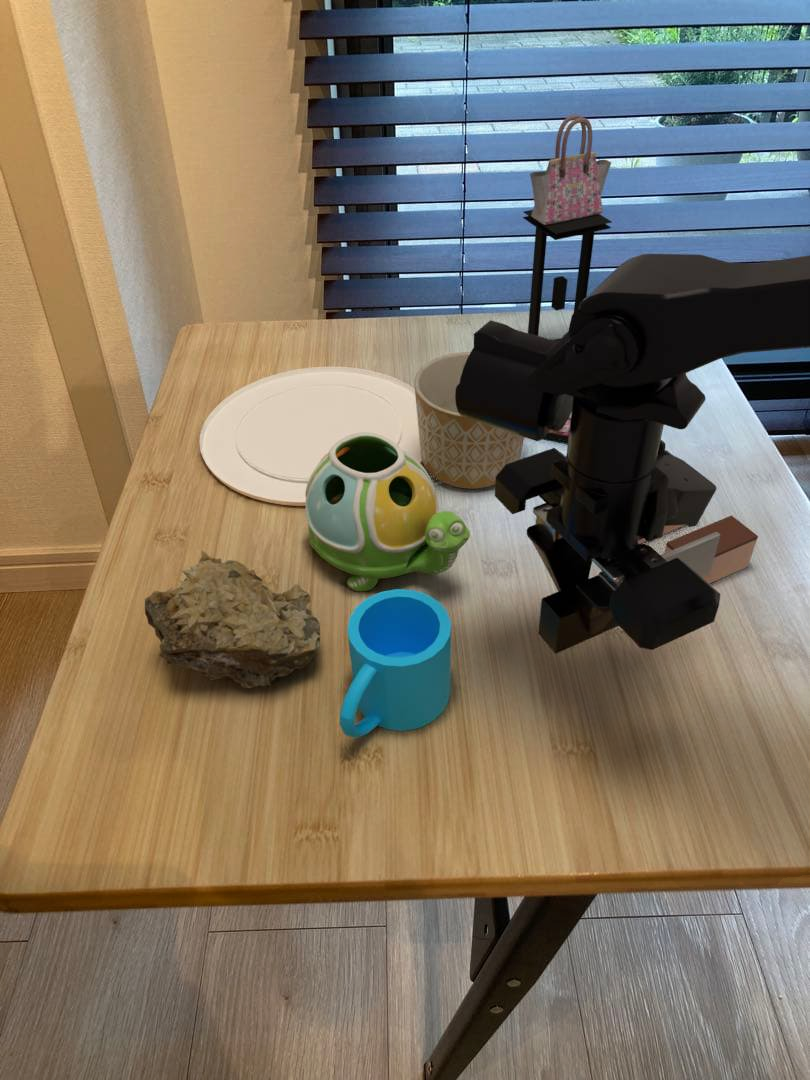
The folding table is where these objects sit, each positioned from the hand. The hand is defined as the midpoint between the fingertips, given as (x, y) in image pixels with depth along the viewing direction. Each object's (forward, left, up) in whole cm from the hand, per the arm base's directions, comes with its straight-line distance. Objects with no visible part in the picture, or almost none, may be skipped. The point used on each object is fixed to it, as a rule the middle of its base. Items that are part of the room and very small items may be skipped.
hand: (584, 619), depth 65 cm
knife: (0, -5, -1) cm, 5 cm away
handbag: (+46, -30, -9) cm, 55 cm away
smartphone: (+34, -22, -9) cm, 41 cm away
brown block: (+6, -20, -9) cm, 22 cm away
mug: (+6, +14, -9) cm, 18 cm away
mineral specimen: (+18, +22, -9) cm, 30 cm away
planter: (+32, -9, -9) cm, 34 cm away
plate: (+46, +4, -9) cm, 47 cm away
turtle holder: (+23, +6, -9) cm, 25 cm away
